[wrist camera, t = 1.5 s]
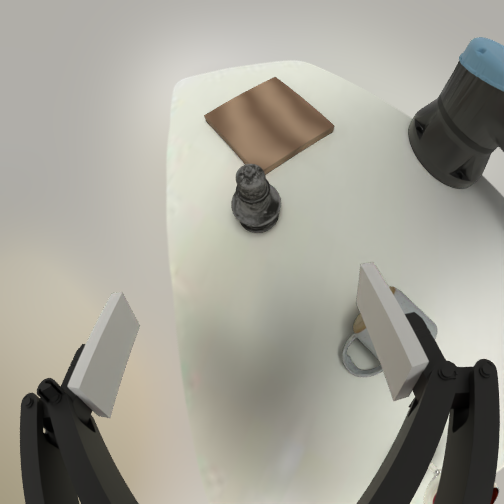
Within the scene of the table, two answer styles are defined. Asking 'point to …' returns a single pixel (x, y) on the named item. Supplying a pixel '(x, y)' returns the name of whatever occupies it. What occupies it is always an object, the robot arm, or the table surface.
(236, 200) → the weathered metal finial
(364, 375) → the ceramic mug
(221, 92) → the table surface
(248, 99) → the walnut board
